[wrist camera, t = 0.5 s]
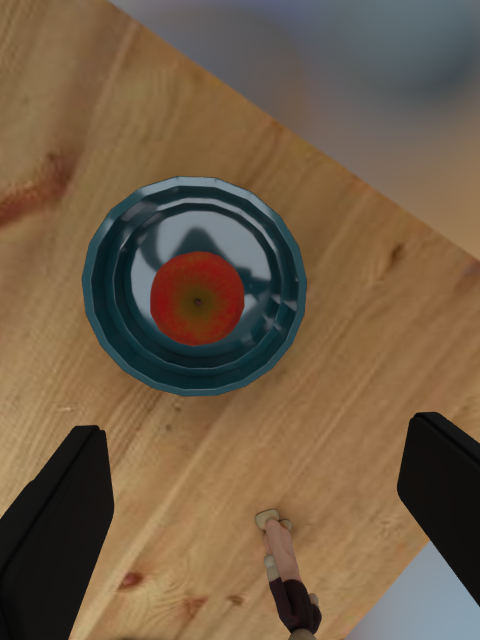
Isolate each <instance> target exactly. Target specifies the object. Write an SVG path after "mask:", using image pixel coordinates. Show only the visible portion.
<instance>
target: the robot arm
mask: <svg viewBox="0 0 480 640" xmlns="http://www.w3.org/2000/svg"><path fill="white" fill-rule="evenodd" d="M397 492H398V495H399V497H400V499H401V501H402V502H403V503H404V505H405V506H406V507H407V509H408V510H409V512H410V513H411V514H412V516H413V517H414V518H415V520H416V521H417V522H418V524H419V525H420V526H421V528H422V529H423V531H424V532H425V533H426V535H427V536H428V537H429V539H430V540H431V541H432V543H433V544H434V546H435V547H436V548H437V550H438V551H439V552H440V554H441V555H442V556H443V558H444V559H445V560H446V562H447V563H448V565H449V566H450V567H451V569H452V570H453V571H454V573H455V574H456V575H457V577H458V578H459V580H460V581H461V582H462V584H463V585H464V586H465V588H466V589H467V590H468V592H469V593H470V594H471V596H472V597H473V598H474V600H475V601H476V603H477V604H478V605H479V607H480V443H478V442H477V441H476V440H474V439H473V438H472V437H470V436H469V435H468V434H466V433H465V432H464V431H462V430H461V429H460V428H458V427H457V426H456V425H454V424H453V423H452V422H450V421H449V420H448V419H446V418H445V417H444V416H442V415H441V414H439V413H437V412H418V413H416V414H415V415H414V417H413V418H411V419H410V422H409V426H408V431H407V437H406V442H405V447H404V452H403V457H402V462H401V468H400V473H399V478H398V483H397ZM113 514H114V498H113V490H112V481H111V473H110V464H109V456H108V448H107V439H106V433H105V431H104V430H100V429H99V427H98V426H97V425H86V426H75V427H74V428H73V429H72V430H71V432H70V433H69V434H68V435H67V437H66V438H65V439H64V441H63V442H62V443H61V445H60V446H59V447H58V449H57V450H56V451H55V453H54V454H53V455H52V457H51V458H50V459H49V460H48V462H47V463H46V464H45V466H44V467H43V468H42V470H41V471H40V472H39V474H38V475H37V476H36V478H35V479H34V480H32V481H30V482H29V483H28V484H27V485H26V486H25V488H24V489H23V490H22V491H21V493H20V494H19V495H18V497H17V498H16V499H15V501H14V502H13V503H12V504H11V506H10V507H9V508H8V510H7V511H6V512H5V513H4V515H3V516H2V517H1V519H0V640H68V639H69V636H70V633H71V630H72V628H73V625H74V622H75V619H76V617H77V614H78V611H79V609H80V606H81V603H82V600H83V598H84V595H85V592H86V589H87V587H88V584H89V581H90V579H91V576H92V573H93V570H94V568H95V565H96V562H97V559H98V557H99V554H100V551H101V548H102V546H103V543H104V540H105V538H106V535H107V532H108V529H109V527H110V524H111V521H112V518H113Z"/></svg>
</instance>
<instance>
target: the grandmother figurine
mask: <svg viewBox="0 0 480 640" xmlns="http://www.w3.org/2000/svg"><path fill="white" fill-rule="evenodd" d="M278 519H279V513H278V511H277V510H274V509H272V510H268V511H265V512H262V513H260V514H258V515H257V516H256V517H255V522H256V525H257V526H258V527H259V528H260V529H263V530H266V533H265V535H264V537H263V540H264V544H265V548H266V551H267V555H266V556H265V557H264V564H265V566H266V568H267V575H268V579H269V585H270V589H271V592H272V594H273V597H274V600H275V603H276V606H277V611H278V614H279V617H280V619H281V621H282V622H283V624H284V625H285V626H286V627H287V629H288V630H289V631H290V633H291V635H290V637H289V639H288V640H316V638H315V637H314V634H315V633H316V632H317V630H318V628H319V625H320V622H321V619H322V616H321V613H320V610H319V605H318V598H317V596H316V595H315V594H313V593H311V594H309V595H308V592H307V589H306V587H305V586H304V584H303V582H302V580H301V578H300V575H299V569H298V565H297V561H296V557H295V552H294V548H293V544H292V540H291V536H290V530H291V528H292V523H291V522H290V521H289V520H282V521H280V522H278Z"/></svg>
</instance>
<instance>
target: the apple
mask: <svg viewBox="0 0 480 640" xmlns="http://www.w3.org/2000/svg"><path fill="white" fill-rule="evenodd" d="M244 307H245V302H244V286H243V283H242V281H241V279H240V277H239V275H238V273H237V271H236V270H235V269H234V268H233V266H232V265H230V264H229V263H228V262H227V261H225V260H224V259H223V258H221V257H220V256H218V255H215V254H212V253H210V252H202V251H195V252H191V253H186V254H182V255H178V256H176V257H174V258H172V259H171V260H169V261H168V262H167V263H165V264H164V265H163V266H162V267H161V268H160V269H159V270H158V272H157V273H156V275H155V277H154V280H153V282H152V287H151V292H150V313H151V315H152V317H153V319H154V321H155V323H156V325H157V326H158V328H159V330H160V331H161V332H163V333H164V334H165V335H167V336H168V337H169V338H171V339H172V340H174V341H176V342H178V343H181V344H185V345H189V346H197V345H204V344H210V343H215V342H217V341H220V340H221V339H223V338H225V337H226V336H227V335H229V334H230V333H231V332H232V331H233V329H234V328H235V326H236V325H237V323H238V322H239V320H240V317H241V315H242V312H243V309H244Z"/></svg>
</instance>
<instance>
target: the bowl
mask: <svg viewBox="0 0 480 640" xmlns="http://www.w3.org/2000/svg"><path fill="white" fill-rule="evenodd" d="M195 251H202V252H210V253H212V254H215V255H218V256H220V257H221V258H223V259H224V260H225V261H227V262H228V263H229V264H230V265H232V266H233V268H234V269H235V270H236V271H237V273H238V275H239V277H240V279H241V281H242V283H243V286H244V302H245V307H244V309H243V312H242V315H241V317H240V320H239V322H238V323H237V325H236V326H235V328H234V329H233V331H232V332H231V333H230V334H229V335H227V336H226V337H225V338H223V339H221V340H220V341H217V342H215V343H210V344H204V345H197V346H189V345H185V344H181V343H178V342H176V341H174V340H172V339H171V338H169V337H168V336H167V335H165V334H164V333H163V332H161V331H160V330H159V328H158V326H157V325H156V323H155V321H154V319H153V317H152V315H151V313H150V292H151V287H152V282H153V280H154V277H155V275H156V273H157V272H158V270H159V269H160V268H161V267H162V266H163V265H164V264H165V263H167V262H168V261H169V260H171V259H172V258H174V257H176V256H178V255H182V254H186V253H191V252H195ZM82 286H83V295H84V303H85V311H86V316H87V318H88V320H89V322H90V324H91V326H92V328H93V331H94V333H95V335H96V337H97V339H98V341H99V343H100V345H101V347H102V348H103V349H104V350H105V351H106V352H107V353H108V354H109V356H110V357H111V358H112V359H113V360H114V361H115V362H116V363H117V364H118V365H119V366H120V368H121V369H122V370H123V371H125V372H126V373H128V374H130V375H131V376H133V377H135V378H136V379H138V380H140V381H141V382H143V383H145V384H146V385H148V386H150V387H151V388H154V389H157V390H161V391H165V392H169V393H173V394H177V395H181V396H215V395H220V394H223V393H226V392H229V391H232V390H235V389H239V388H242V387H245V386H247V385H248V384H250V383H251V382H253V381H254V380H256V379H257V378H259V377H260V376H262V375H263V374H265V373H266V372H268V371H269V370H271V369H272V368H273V367H274V366H275V365H276V363H277V362H278V361H279V360H280V358H281V357H282V356H283V355H284V354H285V352H286V351H287V350H288V349H289V347H290V346H291V345H292V343H293V341H294V339H295V336H296V334H297V331H298V329H299V326H300V324H301V321H302V319H303V316H304V313H305V301H306V289H307V278H306V274H305V270H304V265H303V261H302V257H301V253H300V248H299V246H298V244H297V243H296V241H295V239H294V238H293V236H292V234H291V233H290V231H289V229H288V228H287V226H286V225H285V223H284V221H283V220H282V218H281V217H280V215H278V214H277V213H276V212H275V211H274V210H273V209H271V208H270V207H269V206H268V205H267V204H265V203H264V202H263V201H262V200H261V199H260V198H258V197H257V196H256V195H255V194H254V193H251V191H248V190H246V189H243V188H241V187H238V186H236V185H233V184H231V183H228V182H226V181H223V180H221V179H218V178H212V177H188V176H176V177H173V178H169V179H166V180H163V181H160V182H156V183H153V184H150V185H147V186H144V187H141V188H139V189H137V190H136V191H135V192H134V193H132V194H131V195H130V196H128V197H127V198H126V199H124V200H123V201H122V202H120V203H119V204H118V205H117V206H115V207H114V208H113V209H111V210H110V212H109V213H108V214H107V216H106V217H105V219H104V221H103V222H102V224H101V225H100V227H99V229H98V230H97V232H96V233H95V235H94V236H93V238H92V240H91V241H90V243H89V247H88V252H87V256H86V261H85V265H84V270H83V274H82Z"/></svg>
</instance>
